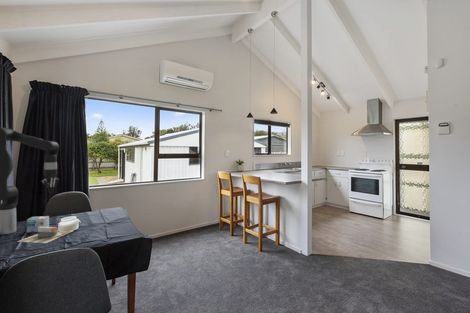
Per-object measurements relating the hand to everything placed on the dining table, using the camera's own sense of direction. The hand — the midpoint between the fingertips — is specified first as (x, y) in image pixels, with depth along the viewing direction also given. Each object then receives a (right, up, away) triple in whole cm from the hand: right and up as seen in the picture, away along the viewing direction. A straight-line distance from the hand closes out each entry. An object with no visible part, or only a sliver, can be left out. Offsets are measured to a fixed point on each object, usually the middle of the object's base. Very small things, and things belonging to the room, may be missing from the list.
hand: (50, 192), depth 164 cm
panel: (+8, -29, -12) cm, 33 cm away
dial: (+8, -28, -12) cm, 31 cm away
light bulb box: (-8, -29, -2) cm, 30 cm away
